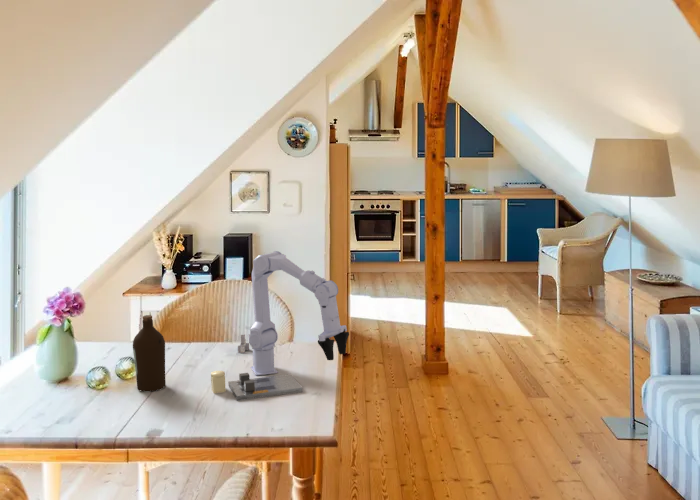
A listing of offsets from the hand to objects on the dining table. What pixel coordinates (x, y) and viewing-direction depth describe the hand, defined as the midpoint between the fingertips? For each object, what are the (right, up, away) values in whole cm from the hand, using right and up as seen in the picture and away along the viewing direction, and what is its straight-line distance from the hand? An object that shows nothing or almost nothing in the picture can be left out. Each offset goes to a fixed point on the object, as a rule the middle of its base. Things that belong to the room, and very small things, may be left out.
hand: (336, 356), depth 254 cm
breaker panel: (-24, -11, 0) cm, 27 cm away
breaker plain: (-31, -9, +2) cm, 33 cm away
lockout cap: (-40, -11, -1) cm, 41 cm away
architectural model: (-33, -5, +41) cm, 53 cm away
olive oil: (-64, -11, +4) cm, 64 cm away
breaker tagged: (-29, -10, -5) cm, 31 cm away
